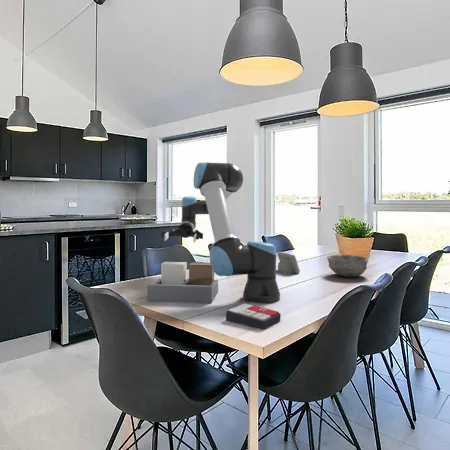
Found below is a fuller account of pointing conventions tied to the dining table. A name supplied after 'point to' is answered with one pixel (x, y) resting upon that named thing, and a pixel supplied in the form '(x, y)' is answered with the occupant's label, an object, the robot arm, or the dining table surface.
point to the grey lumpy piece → (287, 263)
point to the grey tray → (182, 292)
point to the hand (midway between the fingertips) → (179, 238)
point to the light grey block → (173, 273)
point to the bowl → (347, 265)
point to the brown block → (201, 274)
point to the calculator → (253, 316)
